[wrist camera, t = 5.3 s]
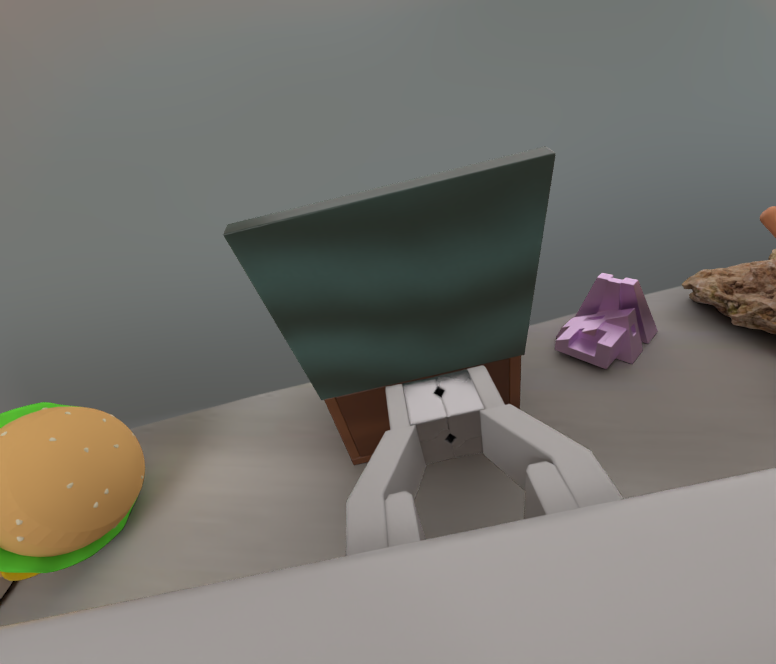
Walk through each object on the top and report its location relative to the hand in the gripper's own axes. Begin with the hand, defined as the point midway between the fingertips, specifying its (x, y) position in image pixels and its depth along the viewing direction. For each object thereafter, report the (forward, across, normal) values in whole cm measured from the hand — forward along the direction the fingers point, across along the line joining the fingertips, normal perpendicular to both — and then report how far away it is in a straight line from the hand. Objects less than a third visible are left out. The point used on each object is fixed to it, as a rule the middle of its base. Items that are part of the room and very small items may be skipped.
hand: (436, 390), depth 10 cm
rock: (+22, -33, +15) cm, 43 cm away
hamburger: (+9, +32, +12) cm, 35 cm away
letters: (+17, -18, +16) cm, 30 cm away
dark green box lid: (+9, 0, +2) cm, 9 cm away
